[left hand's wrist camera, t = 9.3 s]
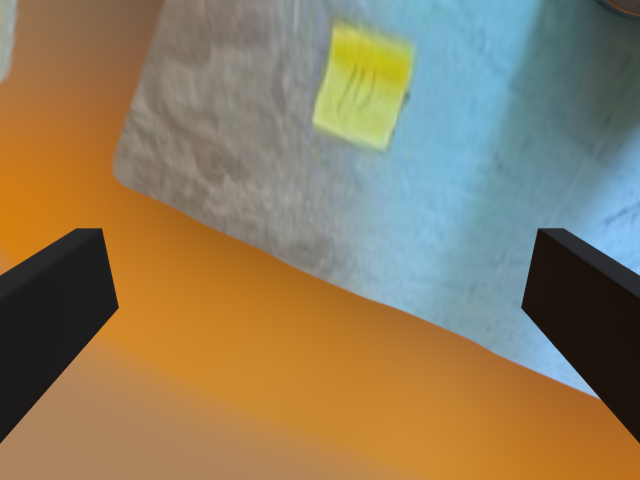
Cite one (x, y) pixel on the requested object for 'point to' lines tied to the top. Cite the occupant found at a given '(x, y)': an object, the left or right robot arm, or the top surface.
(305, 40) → the top surface
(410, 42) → the top surface
